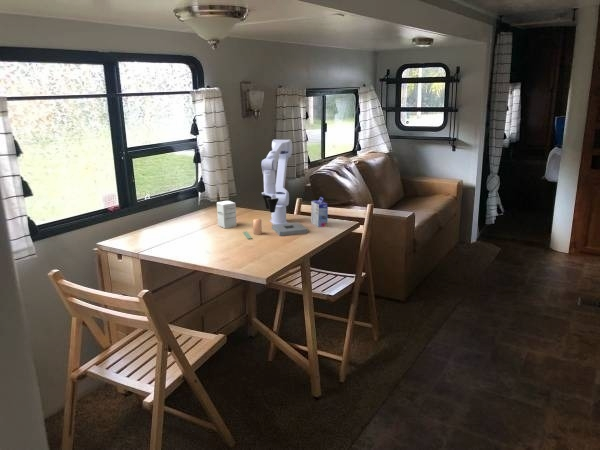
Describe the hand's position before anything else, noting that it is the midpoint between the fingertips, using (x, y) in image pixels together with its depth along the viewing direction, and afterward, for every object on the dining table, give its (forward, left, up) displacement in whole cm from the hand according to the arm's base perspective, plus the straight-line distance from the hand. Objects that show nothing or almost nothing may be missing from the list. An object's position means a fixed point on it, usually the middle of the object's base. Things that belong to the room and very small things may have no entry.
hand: (270, 210), depth 241 cm
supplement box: (-17, -19, -11) cm, 28 cm away
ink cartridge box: (-1, +26, -11) cm, 28 cm away
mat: (+4, -8, -10) cm, 14 cm away
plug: (+4, -8, -10) cm, 13 cm away
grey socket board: (+5, +8, -10) cm, 14 cm away
